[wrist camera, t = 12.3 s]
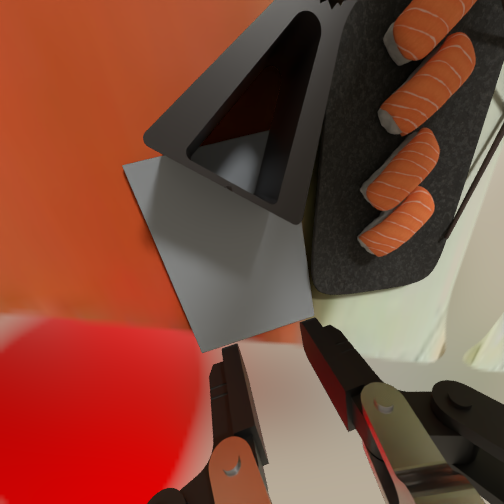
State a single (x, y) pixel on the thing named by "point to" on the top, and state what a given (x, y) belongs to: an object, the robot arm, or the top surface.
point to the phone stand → (287, 105)
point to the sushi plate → (401, 137)
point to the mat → (224, 243)
